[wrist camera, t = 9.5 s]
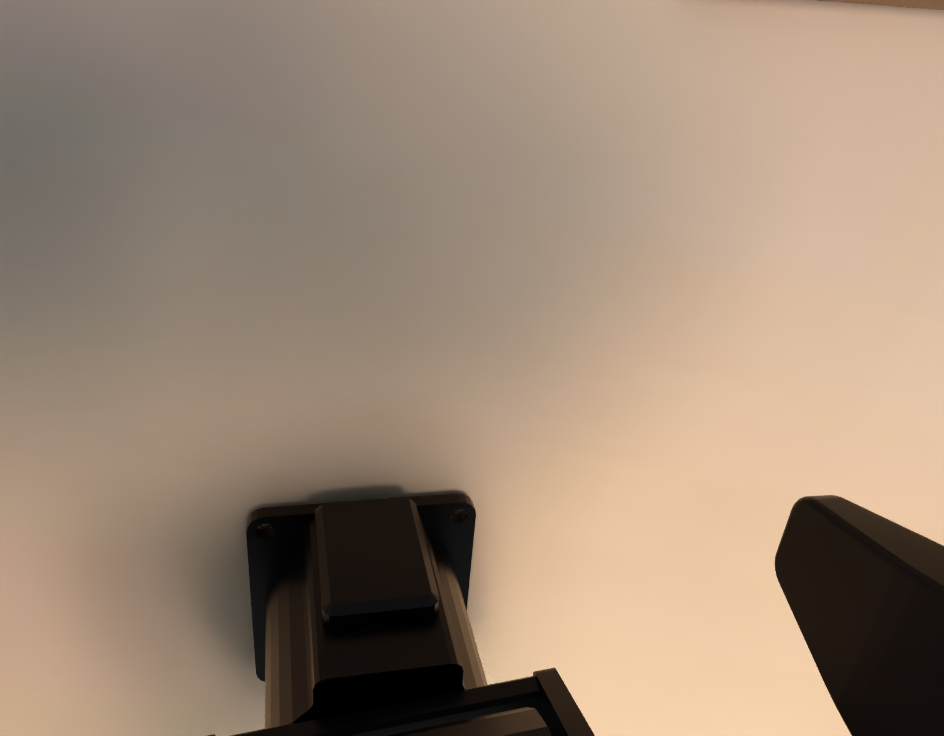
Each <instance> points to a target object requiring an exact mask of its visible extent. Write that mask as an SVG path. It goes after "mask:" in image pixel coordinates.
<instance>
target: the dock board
mask: <svg viewBox="0 0 944 736" xmlns="http://www.w3.org/2000/svg"><path fill="white" fill-rule="evenodd" d="M820 1H833V2H847V3H860V4H874V5H887V6H901V7H914V8H927V9H941V10H944V0H820Z"/></svg>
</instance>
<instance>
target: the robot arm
mask: <svg viewBox="0 0 944 736" xmlns="http://www.w3.org/2000/svg"><path fill="white" fill-rule="evenodd" d="M458 509H463V510H464V511H462V512H461V513H460V514H456V515H455V514H452V513H453V512H454V511H455V510H458ZM475 518H476V513H475V508H474V505H473V502H472V500H471V499H470V498H469V497H468V496H466V495H463V494H450V495H436V496H423V497H409V498H392V499H378V500H364V501H350V502H336V503H325V504H312V505H298V506H284V507H270V508H262V509H257V510H256V511H254V512H252V513H251V514H250V516H249V517H248V519H247V529H246V535H247V549H248V563H249V577H250V592H251V606H252V620H253V634H254V648H255V662H256V674H257V676H258V678H259V679H260V680H262V681H264V682H265V729H261V730H256V731H251V732H246V733H241V734H236V735H231V736H595V735H594V733H593V732H592V730H591V728H590V727H589V725H588V723H587V721H586V720H585V718H584V716H583V715H582V713H581V711H580V709H579V708H578V706H577V704H576V703H575V701H574V699H573V698H572V696H571V694H570V692H569V691H568V689H567V687H566V686H565V684H564V682H563V680H562V679H561V677H560V675H559V674H558V672H557V670H556V669H555V668H551V669H545V670H540V671H535V672H533V676H531V677H526V678H521V679H516V680H511V681H505V682H500V683H495V684H490V685H487V681H486V678H485V674H484V671H483V667H482V664H481V660H480V657H479V653H478V650H477V646H476V643H475V639H474V636H473V632H472V629H471V625H470V622H469V618H468V614H467V600H468V590H469V580H470V569H471V559H472V549H473V539H474V528H475ZM263 524H269V525H271V526H272V527H271V528H269V529H260V528H259V527H258V526H260V525H263ZM775 571H776V575H777V578H778V581H779V583H780V586H781V588H782V590H783V592H784V595H785V597H786V599H787V601H788V603H789V606H790V608H791V610H792V612H793V614H794V617H795V619H796V621H797V623H798V625H799V628H800V630H801V632H802V634H803V636H804V639H805V641H806V643H807V645H808V648H809V650H810V652H811V654H812V656H813V659H814V661H815V663H816V665H817V667H818V670H819V672H820V674H821V676H822V678H823V681H824V683H825V685H826V687H827V689H828V691H829V693H830V695H831V697H832V700H833V702H834V704H835V706H836V708H837V710H838V711H839V713H840V715H841V717H842V719H843V721H844V723H845V724H846V726H847V728H848V730H849V732H850V733H851V735H852V736H944V546H943V545H941V544H939V543H936V542H934V541H932V540H930V539H928V538H926V537H924V536H922V535H920V534H918V533H915V532H913V531H911V530H909V529H907V528H905V527H903V526H901V525H899V524H896V523H894V522H892V521H890V520H888V519H886V518H884V517H882V516H880V515H878V514H875V513H873V512H871V511H869V510H867V509H865V508H863V507H861V506H859V505H857V504H854V503H852V502H850V501H848V500H846V499H844V498H842V497H839V496H834V495H824V496H806V497H803V498H800V499H799V500H798V501H797V502H796V503H795V504H794V505H793V508H792V510H791V513H790V516H789V518H788V521H787V524H786V527H785V530H784V533H783V535H782V538H781V541H780V544H779V547H778V550H777V552H776V556H775ZM208 736H215V734H213V735H208Z"/></svg>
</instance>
